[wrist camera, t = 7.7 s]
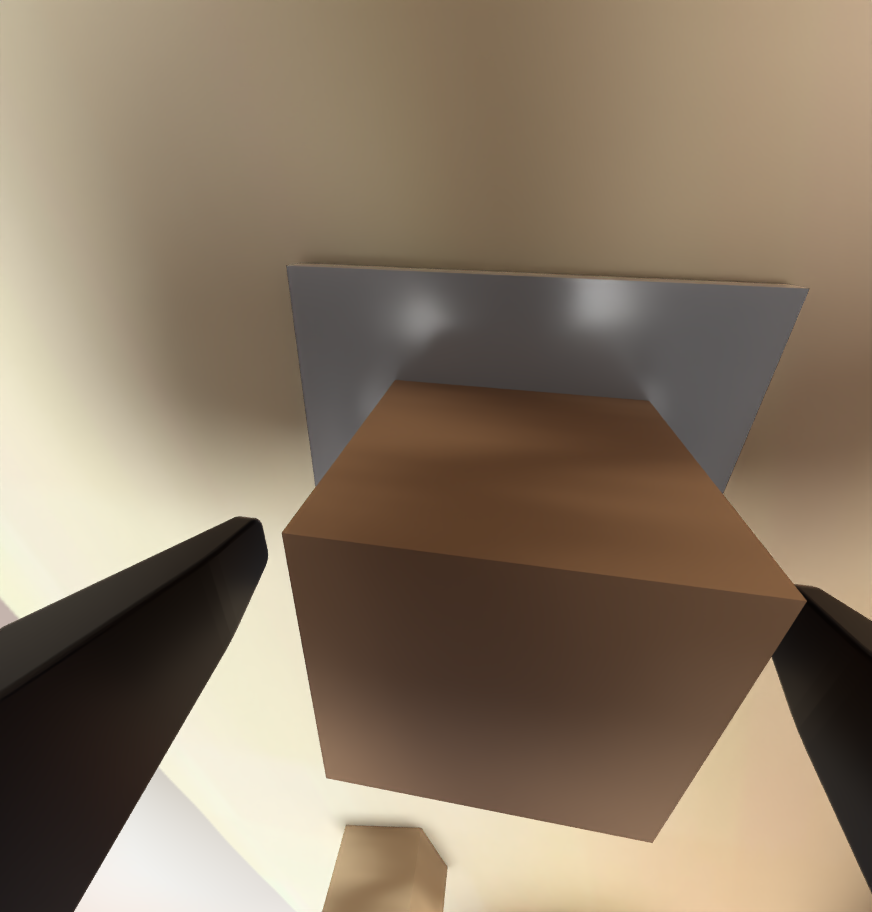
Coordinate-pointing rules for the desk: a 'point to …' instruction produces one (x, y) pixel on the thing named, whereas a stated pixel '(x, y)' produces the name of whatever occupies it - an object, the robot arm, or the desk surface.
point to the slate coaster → (540, 345)
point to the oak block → (386, 872)
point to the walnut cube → (528, 606)
